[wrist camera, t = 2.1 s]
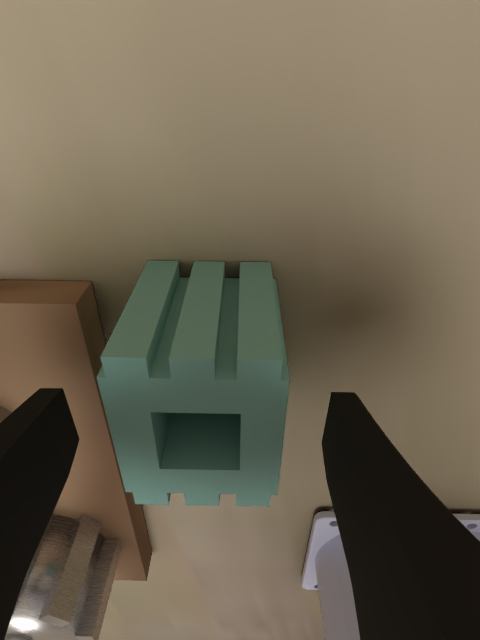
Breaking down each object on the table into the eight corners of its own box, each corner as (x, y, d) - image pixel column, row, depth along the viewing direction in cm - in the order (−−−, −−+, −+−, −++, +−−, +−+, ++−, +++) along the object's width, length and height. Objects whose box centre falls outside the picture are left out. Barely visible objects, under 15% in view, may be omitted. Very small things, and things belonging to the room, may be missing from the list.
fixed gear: (109, 507, 18) (70, 635, 14) (129, 572, 21) (102, 690, 17) (-28, 504, 18) (-107, 631, 14) (14, 570, 21) (-39, 687, 17)
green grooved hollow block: (276, 262, 13) (291, 360, 9) (268, 389, 16) (276, 506, 12) (141, 260, 13) (91, 356, 9) (159, 387, 16) (128, 503, 12)
